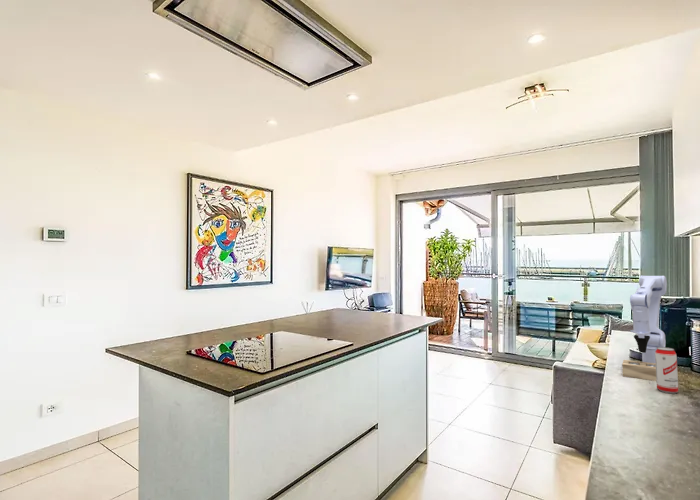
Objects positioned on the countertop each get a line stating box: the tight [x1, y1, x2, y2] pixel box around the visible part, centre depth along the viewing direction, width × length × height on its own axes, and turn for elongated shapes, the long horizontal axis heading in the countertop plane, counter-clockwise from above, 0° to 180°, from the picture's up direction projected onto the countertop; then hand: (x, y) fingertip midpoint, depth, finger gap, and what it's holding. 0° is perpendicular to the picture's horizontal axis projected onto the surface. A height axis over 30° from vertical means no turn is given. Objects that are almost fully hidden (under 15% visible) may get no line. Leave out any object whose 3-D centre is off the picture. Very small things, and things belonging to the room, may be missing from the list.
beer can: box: [655, 346, 679, 394], centre depth 143 cm, size 6×6×16 cm
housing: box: [621, 359, 657, 382], centre depth 163 cm, size 11×13×5 cm
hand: (642, 352), depth 166 cm, fingers closed
